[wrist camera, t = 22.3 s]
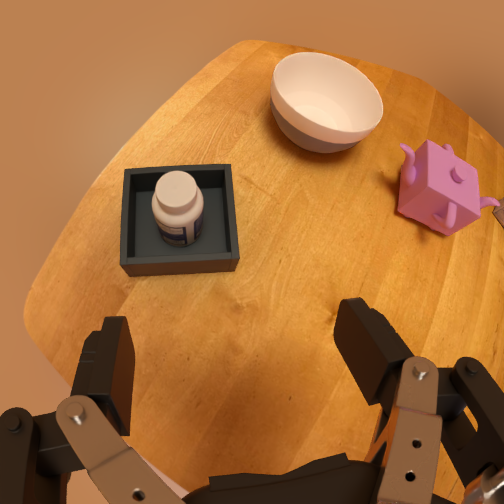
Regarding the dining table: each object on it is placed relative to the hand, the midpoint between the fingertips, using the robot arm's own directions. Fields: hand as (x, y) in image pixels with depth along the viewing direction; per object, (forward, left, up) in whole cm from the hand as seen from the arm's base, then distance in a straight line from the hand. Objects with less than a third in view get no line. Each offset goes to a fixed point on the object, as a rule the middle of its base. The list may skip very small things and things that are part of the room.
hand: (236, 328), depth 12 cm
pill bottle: (-3, +14, -25) cm, 29 cm away
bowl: (+17, +30, -26) cm, 43 cm away
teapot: (+34, +17, -26) cm, 46 cm away
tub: (-3, +14, -26) cm, 30 cm away
